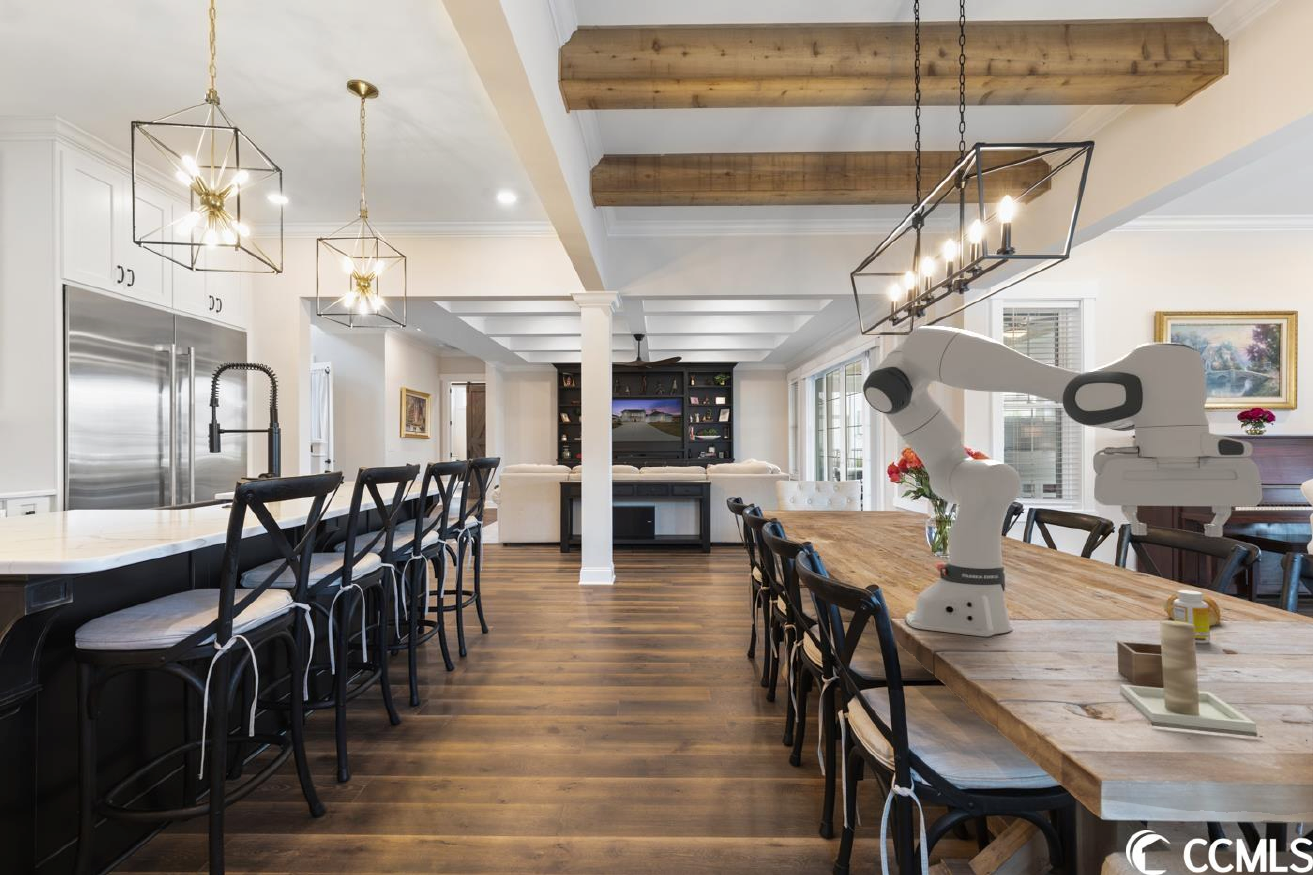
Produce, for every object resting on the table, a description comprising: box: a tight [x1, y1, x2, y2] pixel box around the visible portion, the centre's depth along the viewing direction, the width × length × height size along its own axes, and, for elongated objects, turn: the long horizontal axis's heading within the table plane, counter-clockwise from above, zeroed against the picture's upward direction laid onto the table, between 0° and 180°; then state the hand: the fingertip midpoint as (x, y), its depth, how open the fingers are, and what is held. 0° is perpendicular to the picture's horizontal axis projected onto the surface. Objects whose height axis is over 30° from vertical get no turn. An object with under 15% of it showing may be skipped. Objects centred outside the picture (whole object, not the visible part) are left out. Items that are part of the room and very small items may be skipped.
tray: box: [1119, 683, 1258, 737], centre depth 93 cm, size 12×12×2 cm
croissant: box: [1162, 593, 1221, 627], centre depth 145 cm, size 21×10×8 cm, turn 135°
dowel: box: [1159, 619, 1199, 715], centre depth 93 cm, size 4×4×13 cm
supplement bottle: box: [1173, 589, 1211, 644], centre depth 130 cm, size 6×6×10 cm
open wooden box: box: [1116, 640, 1164, 688], centre depth 105 cm, size 7×7×6 cm
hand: (1175, 535), depth 94 cm, fingers open, 8 cm apart
